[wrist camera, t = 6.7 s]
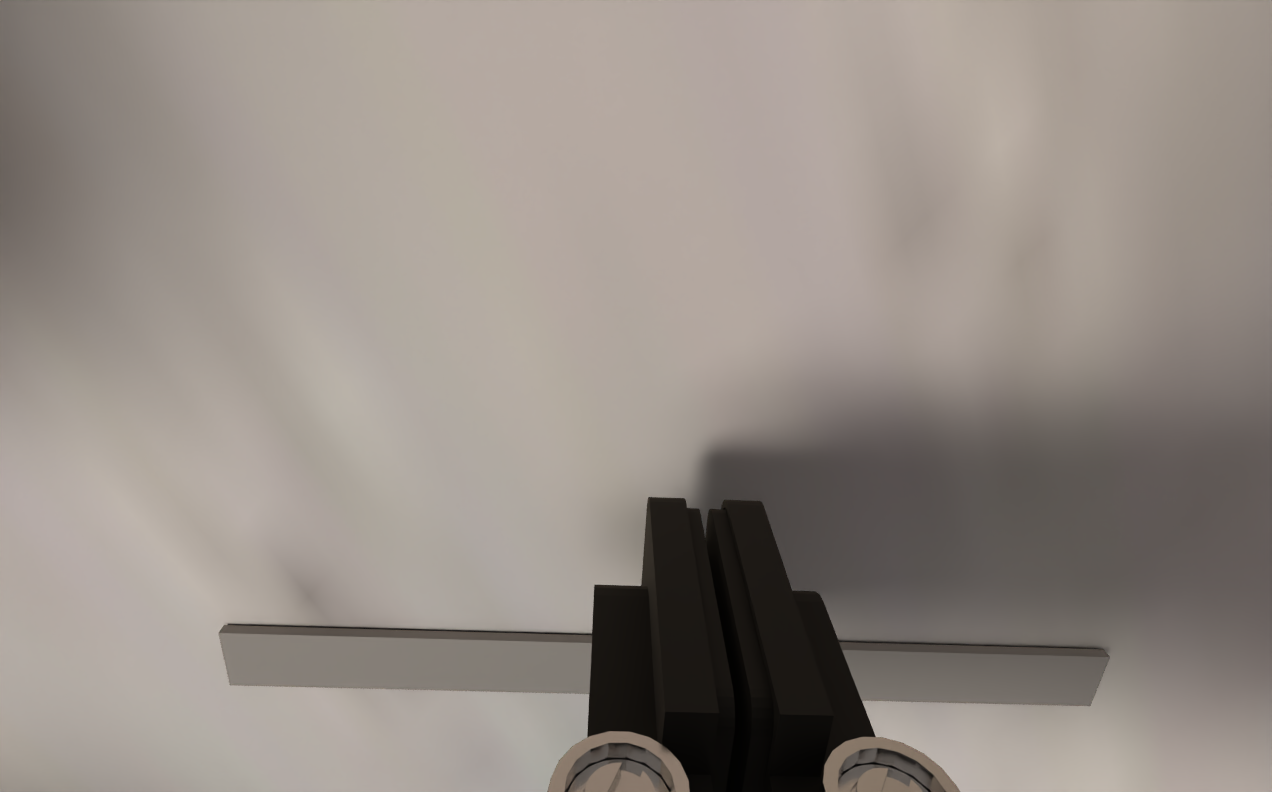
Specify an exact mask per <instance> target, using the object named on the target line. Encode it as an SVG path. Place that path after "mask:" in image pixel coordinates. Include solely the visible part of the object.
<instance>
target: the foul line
mask: <svg viewBox="0 0 1272 792" xmlns="http://www.w3.org/2000/svg"><path fill="white" fill-rule="evenodd" d="M219 637H220V642H221V647H222V651H223V656H224V660H225V665H226V669H227V674H228V678H229V683H230V685H243V686H284V687H325V688H367V689H408V690H449V691H491V692H532V693H574V694H590V672H591V651H592V635H563V634H526V633H490V632H454V631H417V630H381V629H345V628H308V627H272V626H236V625H224V626H223V628H222V629H221V630H220V632H219ZM839 644H840V646H841V649H842V651H843V654H844V656H845V659H846V662H847V664H848V667H849V669H850V672H851V675H852V677H853V680H854V682H855V685H856V687H857V690H858V693H859V695H860V698H861V700H863V701H905V702H946V703H987V704H1029V705H1070V706H1090V705H1091V703H1092V700H1093V698H1094V695H1095V693H1096V690H1097V688H1098V686H1099V683H1100V681H1101V678H1102V676H1103V673H1104V671H1105V668H1106V666H1107V663H1108V661H1109V658H1110V657H1109V655H1108V654H1107V653H1106V652H1105V651H1104V650H1103V649H1071V648H1035V647H998V646H962V645H926V644H889V643H853V642H839Z"/></svg>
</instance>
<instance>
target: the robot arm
mask: <svg viewBox="0 0 1272 792" xmlns="http://www.w3.org/2000/svg"><path fill="white" fill-rule="evenodd" d="M547 792H960V791H959V789H958V787H957V786H956V785H955V783H954V782H953V781H952V780H951V779H950V777H949V776H948V775H947V774H946V772H945V771H944V770H943V769H942V768H941V767H940V766H939V765H937V764H936V763H935V762H934V761H932V760H931V759H930V758H929V757H927V756H926V755H925V754H924V753H922V752H920V751H918V750H916V749H914V748H912V747H910V746H908V745H906V744H904V743H901V742H898V741H894V740H890V739H887V738H883V737H875V734H874V731H873V729H872V726H871V724H870V721H869V718H868V716H867V713H866V711H865V708H864V706H863V703H862V700H861V698H860V695H859V693H858V690H857V687H856V685H855V682H854V680H853V677H852V675H851V672H850V669H849V667H848V664H847V662H846V659H845V656H844V654H843V651H842V649H841V646H840V644H839V641H838V638H837V636H836V633H835V631H834V628H833V626H832V623H831V620H830V618H829V615H828V613H827V610H826V607H825V605H824V602H823V600H822V598H821V596H820V595H819V594H818V593H817V592H815V591H792V589H791V586H790V583H789V580H788V577H787V574H786V571H785V568H784V565H783V562H782V559H781V556H780V553H779V550H778V547H777V544H776V541H775V538H774V535H773V532H772V530H771V527H770V524H769V521H768V518H767V515H766V512H765V509H764V506H763V504H762V502H761V501H741V500H724V501H723V503H722V507H721V509H710V510H709V513H708V519H707V528H706V537H705V536H704V530H703V525H702V520H701V514H700V510H699V509H693V508H687V505H686V500H685V499H684V498H657V497H649V498H648V503H647V515H646V529H645V543H644V557H643V571H642V585H641V586H618V585H595V586H594V607H593V629H592V651H591V672H590V694H589V716H588V737H587V738H586V739H584V740H582V741H581V742H579V743H577V744H575V745H574V746H572V747H571V748H570V749H569V750H568V751H567V753H566V754H565V755H564V756H563V757H562V758H561V759H560V760H559V762H558V764H557V766H556V768H555V770H554V773H553V775H552V777H551V780H550V784H549V787H548V791H547Z"/></svg>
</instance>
